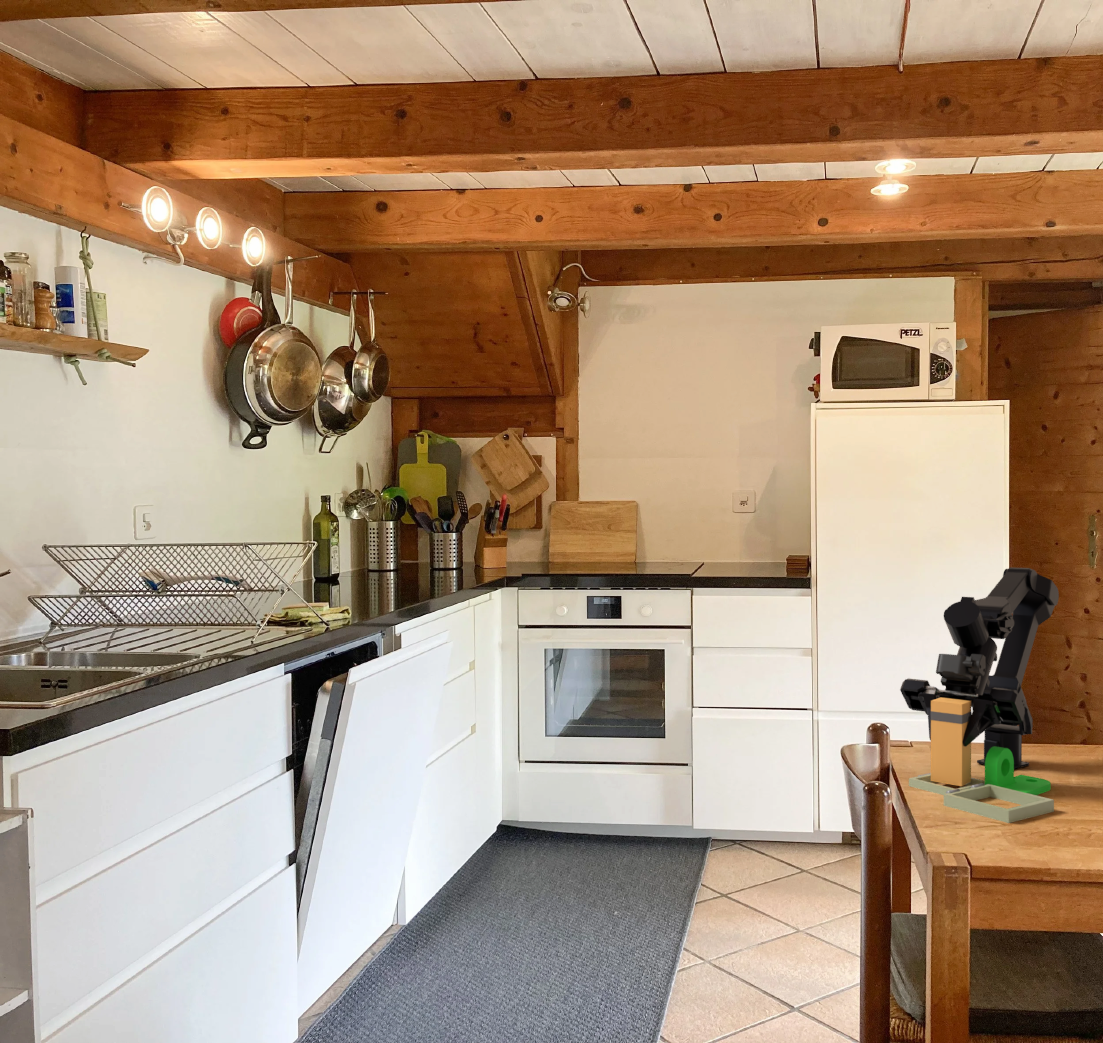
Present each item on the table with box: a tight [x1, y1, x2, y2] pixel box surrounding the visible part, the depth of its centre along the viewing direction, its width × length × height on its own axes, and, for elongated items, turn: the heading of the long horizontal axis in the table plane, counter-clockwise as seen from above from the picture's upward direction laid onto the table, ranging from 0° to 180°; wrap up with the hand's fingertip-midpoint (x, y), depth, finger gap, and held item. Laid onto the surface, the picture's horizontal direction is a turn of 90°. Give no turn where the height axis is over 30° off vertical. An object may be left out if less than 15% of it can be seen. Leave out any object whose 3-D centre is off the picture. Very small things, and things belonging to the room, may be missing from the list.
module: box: [930, 697, 972, 787], centre depth 174 cm, size 4×5×13 cm
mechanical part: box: [984, 746, 1052, 796], centre depth 173 cm, size 12×6×8 cm, turn 131°
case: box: [943, 783, 1055, 824], centre depth 162 cm, size 11×12×3 cm
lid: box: [908, 773, 985, 796], centre depth 174 cm, size 9×9×2 cm
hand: (947, 742), depth 173 cm, fingers closed on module, 5 cm apart
